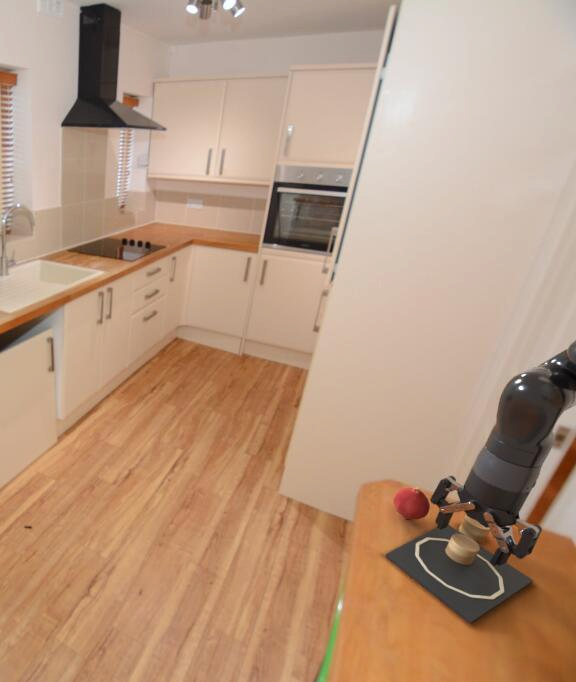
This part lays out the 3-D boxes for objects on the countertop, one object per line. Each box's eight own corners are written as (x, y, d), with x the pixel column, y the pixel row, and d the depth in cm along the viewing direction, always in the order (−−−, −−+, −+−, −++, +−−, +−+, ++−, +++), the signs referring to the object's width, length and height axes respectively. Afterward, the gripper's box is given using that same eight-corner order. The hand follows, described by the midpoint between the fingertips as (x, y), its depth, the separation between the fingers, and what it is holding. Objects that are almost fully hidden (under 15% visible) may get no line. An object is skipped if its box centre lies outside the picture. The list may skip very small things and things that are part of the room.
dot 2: (464, 568, 82) (471, 554, 80) (440, 551, 85) (446, 537, 84) (477, 560, 83) (485, 547, 82) (453, 544, 87) (459, 530, 85)
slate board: (531, 583, 80) (533, 579, 80) (470, 624, 73) (472, 620, 73) (444, 525, 92) (446, 522, 91) (385, 556, 85) (386, 553, 85)
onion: (392, 502, 97) (404, 473, 94) (425, 517, 93) (439, 487, 90) (385, 517, 93) (397, 487, 90) (419, 533, 90) (433, 503, 86)
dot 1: (489, 538, 89) (496, 525, 87) (477, 545, 87) (484, 532, 86) (466, 523, 92) (472, 510, 90) (454, 530, 90) (460, 517, 89)
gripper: (441, 455, 81) (413, 523, 87) (544, 511, 69) (502, 584, 76) (467, 444, 83) (437, 511, 90) (570, 496, 71) (527, 568, 78)
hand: (467, 544), depth 83 cm, fingers open, 8 cm apart
